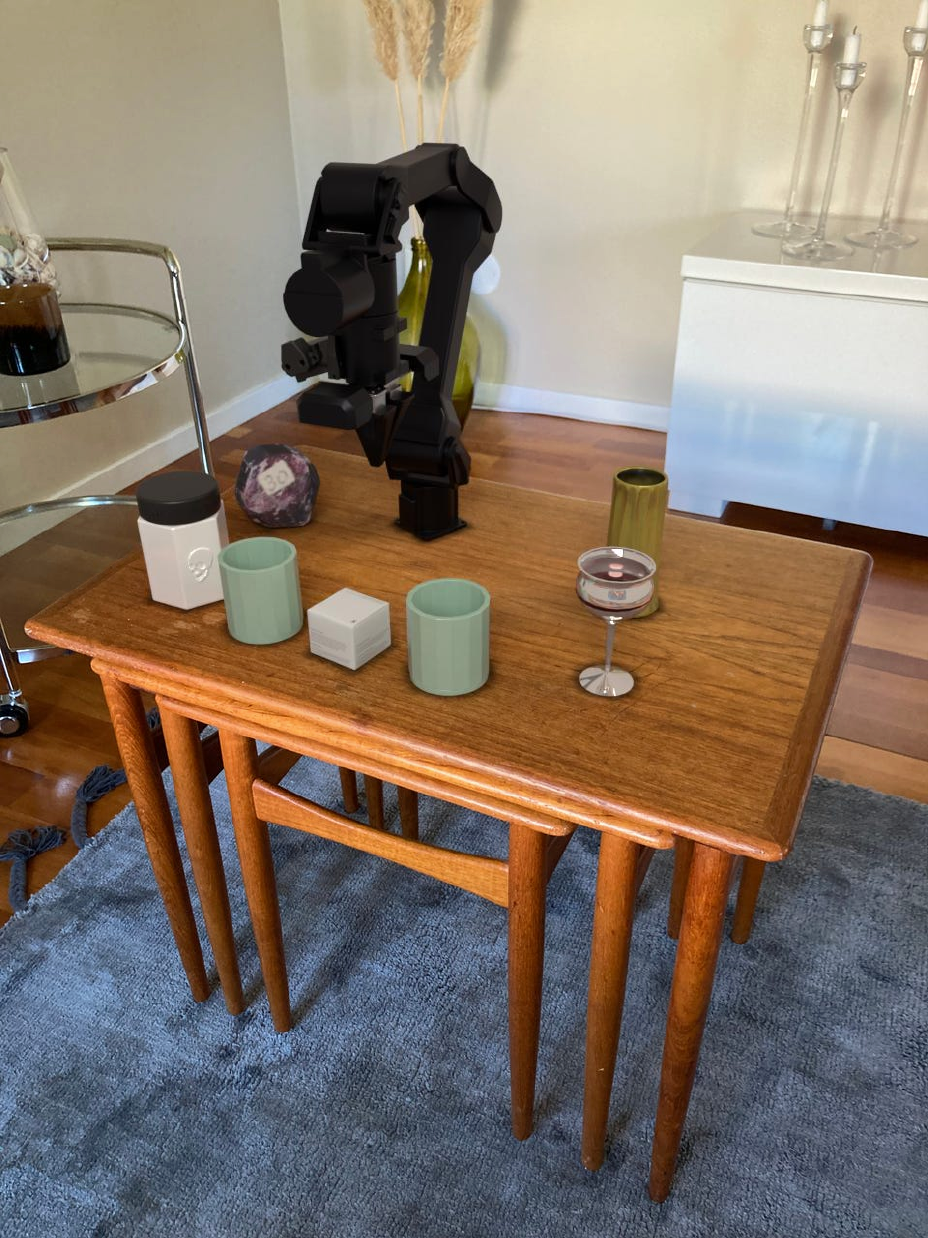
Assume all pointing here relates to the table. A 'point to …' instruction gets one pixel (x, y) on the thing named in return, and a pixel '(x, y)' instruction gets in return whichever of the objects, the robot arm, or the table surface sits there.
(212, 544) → the jar
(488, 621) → the cup
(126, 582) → the table surface
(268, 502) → the mineral specimen
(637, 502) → the vase
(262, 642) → the cup
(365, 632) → the small box
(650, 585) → the wineglass
